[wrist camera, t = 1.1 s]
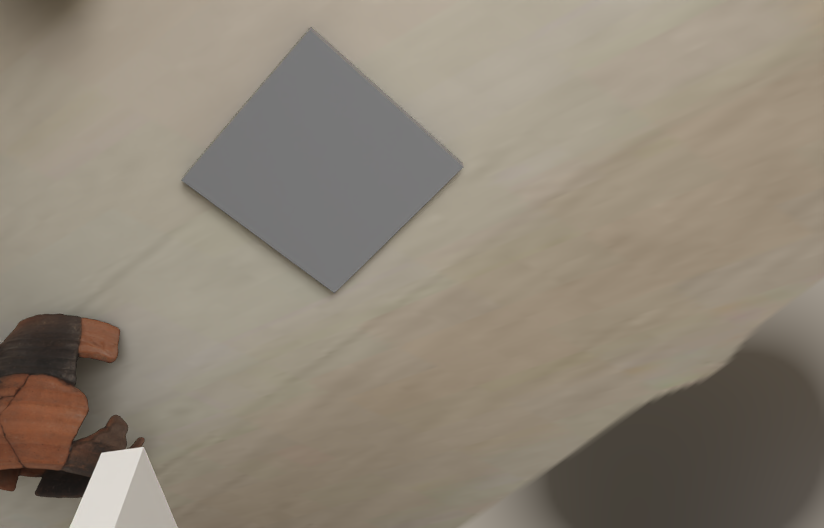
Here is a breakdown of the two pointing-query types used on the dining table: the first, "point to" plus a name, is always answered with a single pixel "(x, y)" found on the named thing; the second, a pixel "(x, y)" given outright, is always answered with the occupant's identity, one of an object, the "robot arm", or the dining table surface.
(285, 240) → the slate coaster
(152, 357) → the dining table surface
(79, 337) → the pottery mug
